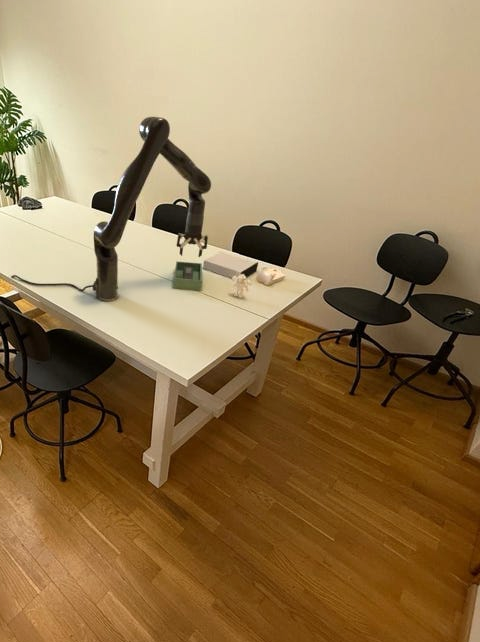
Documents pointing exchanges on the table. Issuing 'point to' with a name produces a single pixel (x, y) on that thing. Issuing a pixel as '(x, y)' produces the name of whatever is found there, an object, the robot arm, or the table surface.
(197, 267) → the bin
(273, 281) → the cream lumpy rounded piece
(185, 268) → the block
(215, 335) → the table surface
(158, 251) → the table surface
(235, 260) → the disc drive
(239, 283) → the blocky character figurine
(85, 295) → the table surface
